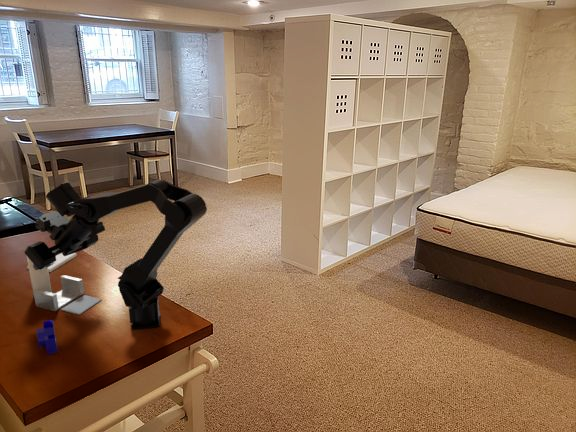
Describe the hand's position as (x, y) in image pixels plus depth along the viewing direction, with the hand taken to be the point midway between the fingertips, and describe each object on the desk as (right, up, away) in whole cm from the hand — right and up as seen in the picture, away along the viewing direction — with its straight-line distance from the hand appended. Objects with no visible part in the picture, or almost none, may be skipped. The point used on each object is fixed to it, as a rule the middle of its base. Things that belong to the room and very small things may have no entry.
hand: (49, 261), depth 114 cm
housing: (+1, -11, +3) cm, 11 cm away
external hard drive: (-13, -3, +25) cm, 28 cm away
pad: (+8, -12, +1) cm, 14 cm away
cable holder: (+8, -18, -15) cm, 25 cm away
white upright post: (-5, -10, +5) cm, 12 cm away
